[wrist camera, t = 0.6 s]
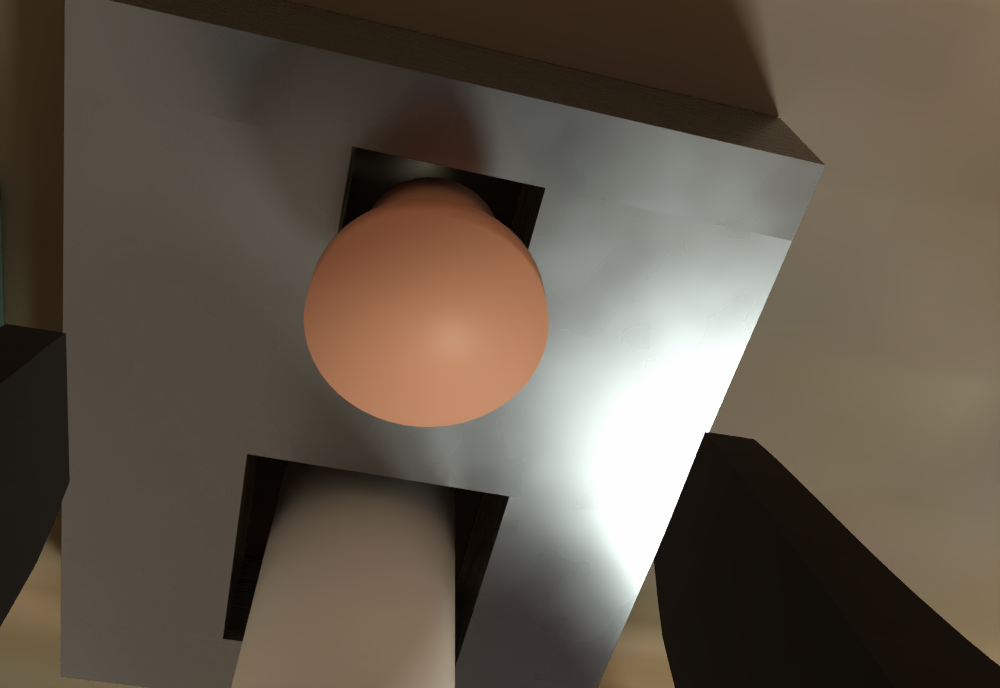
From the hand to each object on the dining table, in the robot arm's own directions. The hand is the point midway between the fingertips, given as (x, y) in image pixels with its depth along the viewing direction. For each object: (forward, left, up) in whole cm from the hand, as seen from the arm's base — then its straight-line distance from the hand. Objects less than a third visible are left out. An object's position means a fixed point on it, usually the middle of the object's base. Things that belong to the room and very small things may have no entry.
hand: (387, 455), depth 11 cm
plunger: (0, 0, -6) cm, 6 cm away
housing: (-5, 0, -8) cm, 10 cm away
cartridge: (-8, 0, -8) cm, 11 cm away
